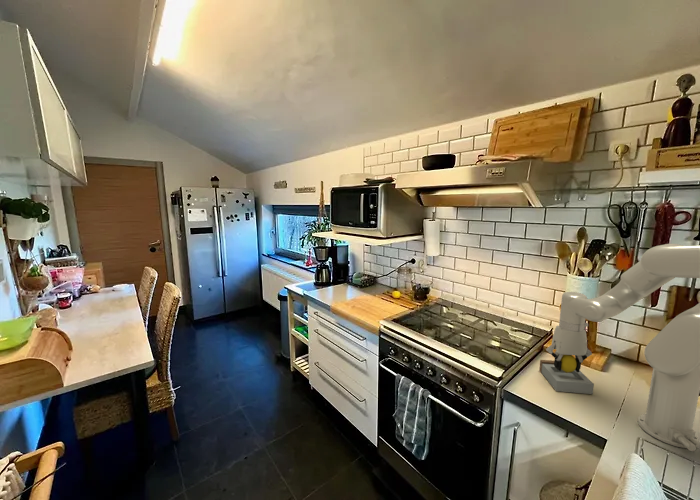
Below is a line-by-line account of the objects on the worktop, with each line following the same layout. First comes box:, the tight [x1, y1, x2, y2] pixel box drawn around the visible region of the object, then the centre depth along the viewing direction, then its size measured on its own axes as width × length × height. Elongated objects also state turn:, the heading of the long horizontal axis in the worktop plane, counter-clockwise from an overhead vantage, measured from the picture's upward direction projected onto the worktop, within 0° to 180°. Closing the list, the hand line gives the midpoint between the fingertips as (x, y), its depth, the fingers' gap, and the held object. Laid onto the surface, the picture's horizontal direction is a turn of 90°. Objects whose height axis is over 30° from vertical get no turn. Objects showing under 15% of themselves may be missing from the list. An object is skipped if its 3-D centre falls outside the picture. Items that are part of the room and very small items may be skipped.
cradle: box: [541, 364, 595, 395], centre depth 113 cm, size 12×12×4 cm
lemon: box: [561, 355, 576, 373], centre depth 112 cm, size 6×6×8 cm
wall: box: [538, 359, 555, 374], centre depth 120 cm, size 2×12×5 cm, turn 80°
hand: (566, 369), depth 112 cm, fingers closed on lemon, 5 cm apart
